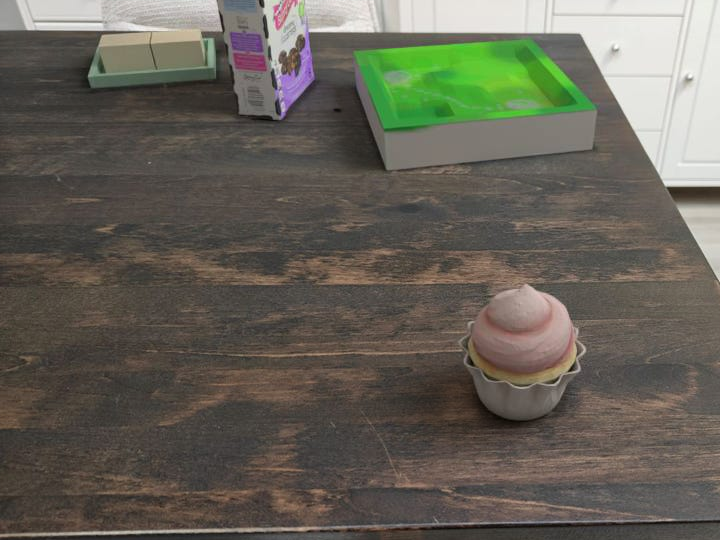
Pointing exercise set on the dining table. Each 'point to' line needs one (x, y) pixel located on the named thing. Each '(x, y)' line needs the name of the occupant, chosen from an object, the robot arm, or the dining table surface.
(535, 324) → the cupcake
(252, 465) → the dining table surface
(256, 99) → the candy box
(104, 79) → the frame
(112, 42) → the loose pad
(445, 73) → the tray
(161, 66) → the seated pad
